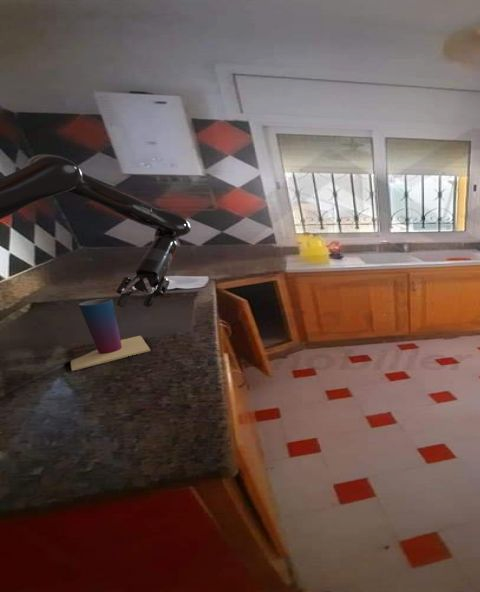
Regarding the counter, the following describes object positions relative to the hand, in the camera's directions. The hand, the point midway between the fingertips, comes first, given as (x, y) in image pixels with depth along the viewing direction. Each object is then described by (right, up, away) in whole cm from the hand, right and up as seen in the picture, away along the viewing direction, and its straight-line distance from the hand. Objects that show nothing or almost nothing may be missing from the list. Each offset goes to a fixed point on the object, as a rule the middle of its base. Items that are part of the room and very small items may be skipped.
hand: (133, 306), depth 101 cm
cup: (0, -13, -7) cm, 15 cm away
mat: (0, -13, -7) cm, 15 cm away
